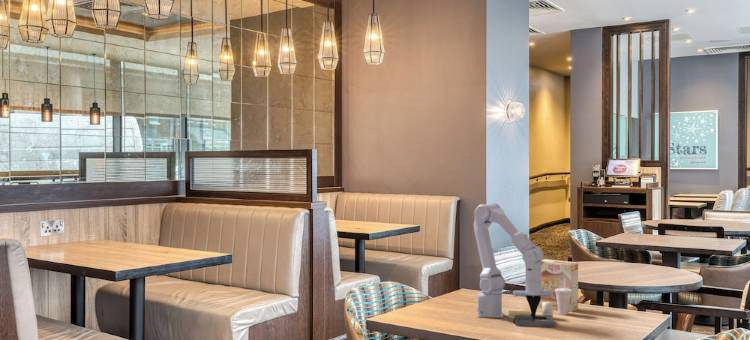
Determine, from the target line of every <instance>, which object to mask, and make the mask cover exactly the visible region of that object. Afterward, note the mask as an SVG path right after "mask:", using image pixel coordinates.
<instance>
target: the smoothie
mask: <svg viewBox="0 0 750 340" xmlns="http://www.w3.org/2000/svg"><path fill="white" fill-rule="evenodd" d="M555 292H556V297H557V305H558V310H557V312H558V314H559V315H562V316H566V315H569V313H570V312H569V304H570V296H571V293H572V290H571V289H566V279H564V288H557V289H555Z"/></svg>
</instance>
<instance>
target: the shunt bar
mask: <svg viewBox="0 0 750 340" xmlns="http://www.w3.org/2000/svg"><path fill="white" fill-rule="evenodd" d="M515 316H531V310H529V311H528V310H527V311H526V310H508V318H510V319H514V318H515Z"/></svg>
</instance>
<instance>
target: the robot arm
mask: <svg viewBox="0 0 750 340" xmlns="http://www.w3.org/2000/svg"><path fill="white" fill-rule="evenodd" d="M473 213H474V214H473V215H474V219H473V221H474V222H473V230H474V235H475V240H476V246H477V249H478V255H479V258H480V259H479V260H480V263H481V268H482V271H481V272H480V274H479V277H480V280H479V289H480V290H481V291H482V292H478V293H477V294H478V295H477V296H478V298H477V299H478V300H477V302H478V303H477V304H478V306H477V308H476V309H477V313H478V317H479V318H499V319H500V318H501V319H503V318H504V314H503V307H502V306H503V305H502V304H503V303H502V301H503V298H502V297H503V296H502V295H503V289H504V288H505V287H506V280H505V278H504V276H503V275H502V272H501V270H500V269H499V268H498V267H497V265H496V264H497V263H496V259H495V254H494V250H493V245H492V241H491V236H490V232H489V228H490V226H491V225H492V223H496V224H498V225H499V226H500V227H501V228H502V229H503V230H504V231H505V232H506V233H507V234H508V235H509V237H511V244H513V245H514V247H515V249H517V250H518V251H519V252H520V254H521V255H522V257H521V258H522V260H523V262H524V265H525V290H524V289H522V290H513V292H512V293H513V297H525V298H526V300H527V303H528V305H529V309H530V310H529V311H530V312H531V316H533V317H535V315H537V314H536V313H537V310H538V308H539V307H538V305H539V303H540V301H541V297H551V298H553V292H550V291H541V261H542V260H543V259H545V258H544V257H545V253H544V250H543V249H542V247H540V246H536V244H535V243H533V242H532V241H531V240H530V239H529V237H528V234H527V233H524V232H523V231H518V229H517V228H516V226H515V224H513V223H512V221H510V219H509V218H508V216H507V215H506V214H505V211H504V209H503V208H502V207H501V206H500V205H499V204H498V203H494V202H493V203H487V204H486V203H484V204H483V203H481V204H478V206H476V208H475V210H474V211H473Z"/></svg>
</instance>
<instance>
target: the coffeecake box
mask: <svg viewBox="0 0 750 340" xmlns="http://www.w3.org/2000/svg"><path fill="white" fill-rule="evenodd" d="M564 279H566V289H571V290H572V293H571V296H570V304H569V312H568V313H573V312H575V311H577V310H579V262H575V261H566V260H557V259H549V258H548V259H547V258H543V260H542V261H541V291H550V292H553V298H551V297H541V301H540V303H539V305H538V307H537V308H542V302H552V303H553V310H555V311H558V305H557V297H556V292H555V289H557V288H564Z"/></svg>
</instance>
